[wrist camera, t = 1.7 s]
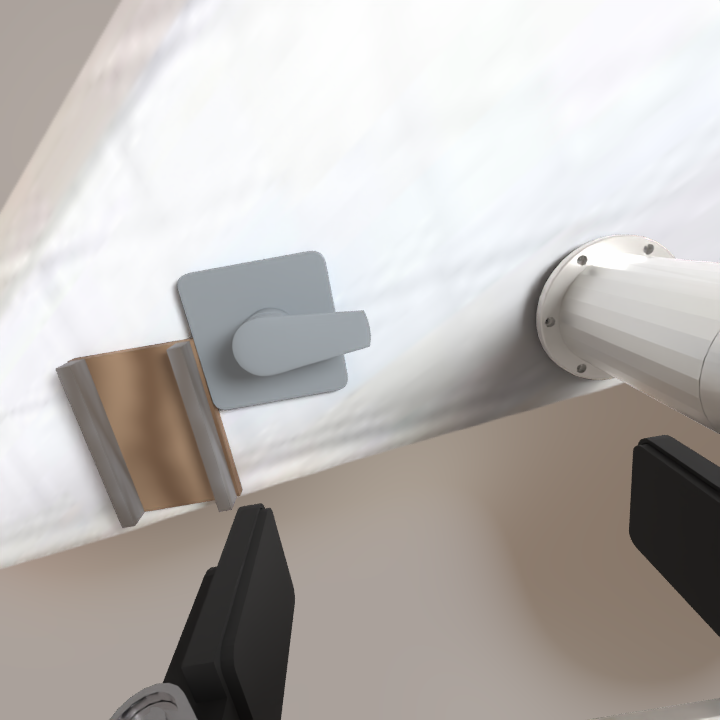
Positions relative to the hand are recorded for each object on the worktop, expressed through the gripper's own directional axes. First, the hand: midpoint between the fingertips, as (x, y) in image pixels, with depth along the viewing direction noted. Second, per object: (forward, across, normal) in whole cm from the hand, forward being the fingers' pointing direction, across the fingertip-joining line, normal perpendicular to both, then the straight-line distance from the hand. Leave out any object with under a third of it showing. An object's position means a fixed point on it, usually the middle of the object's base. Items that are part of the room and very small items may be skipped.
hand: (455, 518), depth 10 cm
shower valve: (+24, 0, 0) cm, 24 cm away
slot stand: (+27, +21, +8) cm, 35 cm away
